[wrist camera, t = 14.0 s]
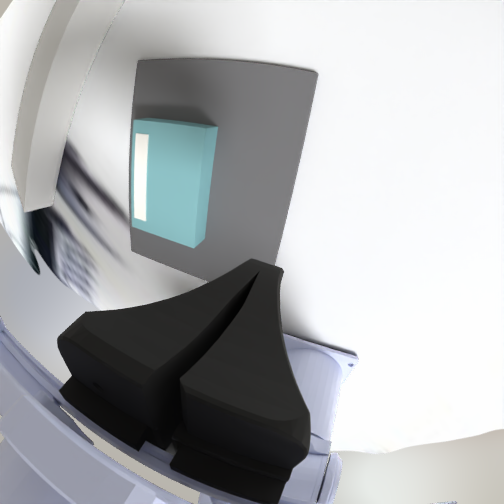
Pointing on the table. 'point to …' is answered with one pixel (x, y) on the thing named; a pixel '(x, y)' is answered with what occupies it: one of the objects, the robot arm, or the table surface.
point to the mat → (230, 153)
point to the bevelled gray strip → (55, 94)
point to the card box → (172, 178)
